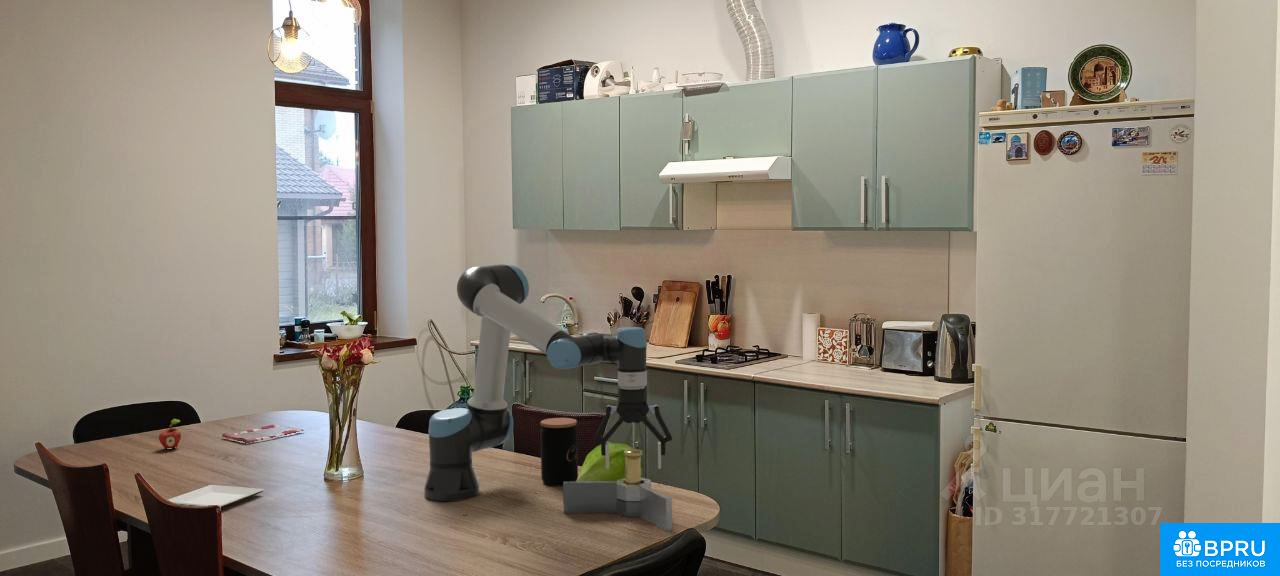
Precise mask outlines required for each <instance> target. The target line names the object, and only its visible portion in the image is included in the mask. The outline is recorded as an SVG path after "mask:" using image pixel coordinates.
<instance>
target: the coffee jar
mask: <svg viewBox="0 0 1280 576" xmlns="http://www.w3.org/2000/svg"><path fill="white" fill-rule="evenodd" d="M577 423H578V420H577V419H575V418H569V417H553V418H550V417H549V418H546V419H543V420H541V421H540V426H541V429H540V463H541V464H540V465H541V466H540V469H541V472H540V473H541V480H542V481H543V483H544V485H547V484H548V485H547V486H551V485H556V486H555V487H558V486H557V485H563V482H564V481H577V479H578V476H579V466H578V463H579V462H578V459H579V457H578V428H577V427H576V426H577V425H578V424H577Z"/></svg>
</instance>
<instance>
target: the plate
mask: <svg viewBox="0 0 1280 576" xmlns="http://www.w3.org/2000/svg"><path fill="white" fill-rule="evenodd" d="M264 491H265V489H263V488H254V487H253V488H252V487H241V486H230V485H219V484H209V485H207V486H203V487H201V488H198V489H195V490H192V491H189V492H187V493H183V494H180V495H178V496H175V497H170V498H169V499H168V498H167V500H169V501H171V502H173V503H176V504H180V505H189V506H208V505H219V506H221V509H224V508H226V507H228V506H231V505H234V504H237V503H240V502H242V501H244V500H247V499H249V498H252V497H254V496H257V495H259V494H261V493H264Z"/></svg>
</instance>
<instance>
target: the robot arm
mask: <svg viewBox="0 0 1280 576" xmlns="http://www.w3.org/2000/svg"><path fill="white" fill-rule="evenodd" d="M529 291H530V285H529V281H528V278H527V276H526V274H525V273H524V271H523V270H522V269H520V268H519V267H518V266H516V265H513V264H503V263H502V264H494V265H477V266H473V267H470V268H467V269H466V270H465V271H464V272H462V274H461V275H460V277H459V278H458V280H457V283H456V293H457V298H458V300H459V301H460V303H461V304H462V305H463V306H464V307H465V308H466V309H467V310H468V311H470V312H472V313H473V314H475V315H476V316H479V317H481V321H480V332H479V341H478V350H477V359H476V367H475V368H476V369H475V377H474V387H473V395H472V396H471V397H469V398H468V400H467V403H466V407H465V408H464V407H454V408H450V409H448V408H447V409H444V410H443V409H442V410H440V411H438V412H435V413H434V414H432V415H431V416H430V419H429V421H428V423H429V424H428V443H429V444H428V445H429V470H428V471H429V472H428V473H427V474H428V475H427V477H426V482H425V484H424V489H423V490H424V491H423V492H424V498H426V499H427V500H430V501H437V502H454V501H462V500H463V501H464V500H468V499H471V498H475V497H476V496H478V495H479V494H480V484H479V482H478V479H477V475H476V473H475V469H474V466H473V453H474V452H478V451H482V450H487V449H490V448H491V449H492V448H495V447H498V446H499V445H502V444H503V443H505V442H506V441H508V440H509V438H510V437H511V435H512V432H513V430H514V417H513V415H512V412H511V410H510V409H509V408H508V402H506V400H505V399H504V395H505V394H504V393H505V384H506V374H507V366H508V357H509V349H510V339H511V334H513V335H515V336H517V337H518V338H520V340H521V339H522V340H523V341H525V342H526V343H527V344H529V345H531V346H532V347H534V348H535V349H537V350H538V351H541V353H543V354H545V355H546V356H547V357H546V358H547V361H548V362H549V363H550V366H551V367H553V368H555V369H556V370H571V369H574V368H575V369H576V368H578V367H583V366H587V365H594V364H598V363H612V364H617V385H618V386H619V387H618V389H617V397H618V398H617V401H618V403H617V405H616V406H614V405H611V404H608V405H606V407H605V415H604V416H603V419H602V421H601V423H600V425H599V427H598V430H597V432H596V433H595V436H594V438H593V440H594V442H597V443H599V444H600V445H601V454H602V456H606V469H609V443H610V441H608V440H610V438H611V437H612V435H614V433H615V432H616V431H617V430H618V428H619V427H620V426H621V425H622V424H623V423H624V422H625V423H626V424H632V423H635V424H639V423H640V422H642V423H643V424H644V425H645V426H646V427H647V429H648V430H649V431H650V432H651V433H652V434H653V435H654V436H655V438H657V440H658V441H657V465H658V466H657V469H658V470H659V469H662V456H666V443H668V442H671V441H673V435H672V433H671V432H670V430H669V427H668V425H667V424H666V422H665V419H664V418H663V416H662V414H661V410H660V405H659V404H658V403H657V404H654V405H648V388H647V387H646V386H647V385H648V370H647V346H648V344H647V336H646V335H647V334H646V330H645V328H643V327H639V326H624V327H619V328H618V329H617V331H616V334H613V333H612V334H610V333H601V332H600V333H599V332H594V331H593V332H585V333H583V334H582V335H580V336H573V335H570V334H569V333H567V332H566V331H564V330H562V329H561V328H559V327H557V326H556V325H554V324H553V323H551V322H550V321H548V320H546V319H544V318H543V317H541V316H540V315H538V314H536V313H535V312H533V311H532V310H530V309H529V308H527V307H526V306H524V305H522V303H524V302H525V300H527V299H528V296H529ZM615 412H616V413H617V414H618V415H619V417H618V418H617V420H616V421H614V424H613V425H611V427H610V428H609V429H608V431H606V433H605V434H604V435H603V436H602V434H603V432H604V430H605V427H606V425H607V423H608V421H609V419H610V418H611V415H614V413H615ZM649 412H651V413H652V414H653V415H654V416H655V417H656V420H657V421H658V424H659V426H660V428H661V430H662V431H663V434H664V435H665V436H664V435H663V434H662V433H661V432H660V431H659V429H658V428H657V427H656V426H655V425H654V424H653V423H652V422H651V420H650V419H649V418H648V416H647V414H648V413H649ZM511 415H512V416H511Z"/></svg>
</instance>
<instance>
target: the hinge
mask: <svg viewBox="0 0 1280 576" xmlns="http://www.w3.org/2000/svg"><path fill="white" fill-rule="evenodd" d="M562 487H563V488H562V490H563V491H562V492H563V514H616V515H618V516H619V515H620V516H623V517H626V518H641V519H643V520H644V521H647V522H649V523H651V524H653V525H654V526H657V527H658V528H660V529H662V530H664V531H665V532H670V531H673V499H672V497H671V496H669V495H667V494H664V493H662V492H660V491H658V490H655V489H653V488H652V480H651V479H649V478H645V477H641V484H638V485H628V484H625V478H624V479H620V480H617V481H577V480H576V481H564V482H563V486H562Z"/></svg>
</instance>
